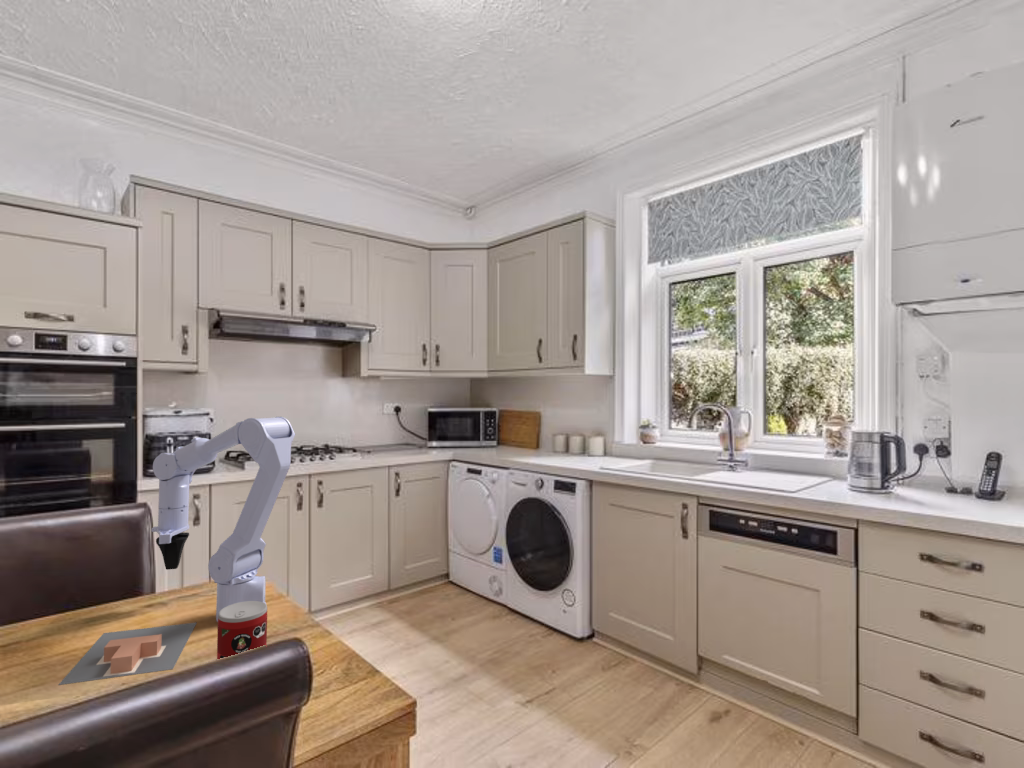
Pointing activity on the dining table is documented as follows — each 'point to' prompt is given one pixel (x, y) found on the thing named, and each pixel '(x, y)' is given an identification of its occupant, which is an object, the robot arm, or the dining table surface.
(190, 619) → the dining table surface
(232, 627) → the canned food
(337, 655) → the dining table surface
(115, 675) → the board
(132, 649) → the t block
